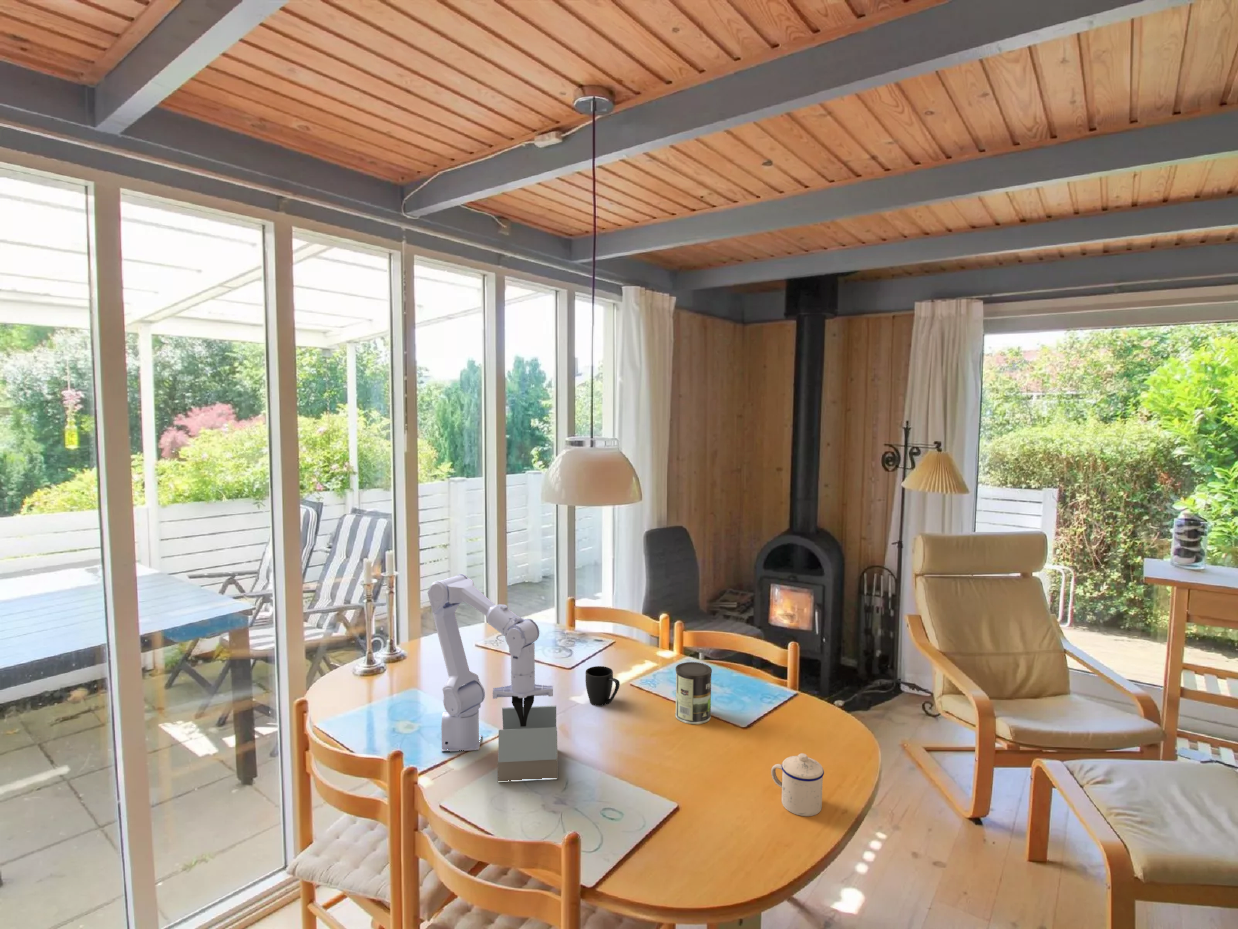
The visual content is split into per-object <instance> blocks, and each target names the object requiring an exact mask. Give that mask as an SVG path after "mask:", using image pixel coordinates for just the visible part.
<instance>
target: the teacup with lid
mask: <svg viewBox="0 0 1238 929" xmlns="http://www.w3.org/2000/svg"><path fill="white" fill-rule="evenodd" d="M776 769H779V770H781V771H782V776H781V777H782V779H781V780H780V779H779V777H778V776H777V773H776ZM770 772H771V773H770V774H771V777H772V778H771V779H772V780H773V782H774V783H775V785H777V786H778V787H780V788H781V804H782V806H783V808H785V809H786V810H787V811H789V813H792V814H794V815H796V816H801V817H812V816H816V815H817V814H819V813H820V812H821V811H822V806H823V805H822V804H823V780H824V779H823V778H824V777H823V776H824V774H825V771H824V767H823V766H822V764H821V763H820V762H819V761H817V760H816V759H814V758H811V757H809V756H808V754H806V753H803V752H801V753H799V754H798V755H791V756H788V757H786V758H785V759H784V760H783V761H782V763H781V764H780V763H776V764H774V765H773V766H772V767H771V769H770Z"/></svg>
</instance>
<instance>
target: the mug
mask: <svg viewBox="0 0 1238 929" xmlns="http://www.w3.org/2000/svg"><path fill="white" fill-rule="evenodd" d="M614 683H615V688H614V690H613V692H612V689H613V684H614ZM620 684H621V683H620V680H619V679H617V678H614V670H613V669H612V668H611V667H608V666H602V665H597V666H596V665H595V666H591V667H588V668H587V669H586V670H585V687H586V693H587V697H588V701H589V703H590V704H591V705H592V706H595V707H602V706H606V705H609V704H611V703H612V702H613V700H614V698H615V697H616V695H617V693H618V691H619V688H620Z"/></svg>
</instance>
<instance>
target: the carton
mask: <svg viewBox="0 0 1238 929" xmlns="http://www.w3.org/2000/svg"><path fill="white" fill-rule="evenodd" d="M558 757H559V756H558V753H557V759H552V760H532V761H511V762H498V761H497V782H498V781H508V780H509V781H511V780H522V779H542V778H558V779H559V776H558V769H559V768H558V762H559V759H558Z"/></svg>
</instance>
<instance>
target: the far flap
mask: <svg viewBox="0 0 1238 929" xmlns="http://www.w3.org/2000/svg"><path fill="white" fill-rule="evenodd" d="M501 708H502V711H501V713H502V716H501V717H502V730H506V729H529V728H552V727H557V705H540V706H539V705H537V706H536V705H535V706H533V705H532V707H531V709H530V711H529V714H528V718H527V723H526V726H525V727H520V721H519V717H518V714H517V712H516V710H515V708H514V706H511V707H501ZM523 716H524V706H523Z"/></svg>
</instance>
